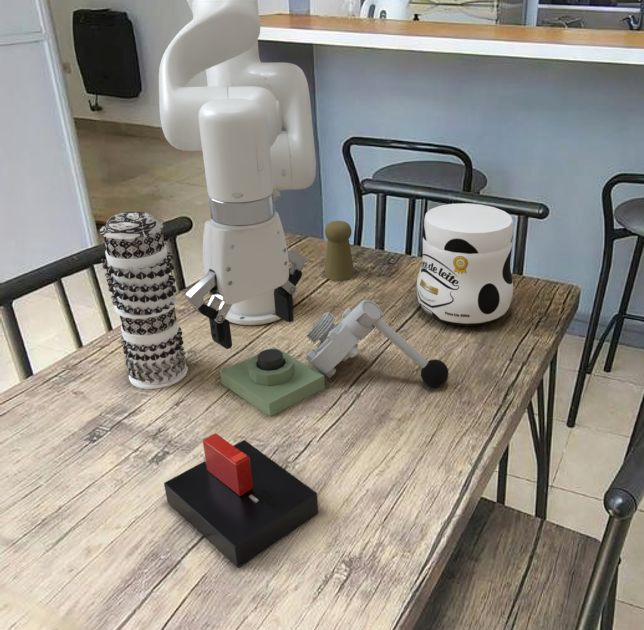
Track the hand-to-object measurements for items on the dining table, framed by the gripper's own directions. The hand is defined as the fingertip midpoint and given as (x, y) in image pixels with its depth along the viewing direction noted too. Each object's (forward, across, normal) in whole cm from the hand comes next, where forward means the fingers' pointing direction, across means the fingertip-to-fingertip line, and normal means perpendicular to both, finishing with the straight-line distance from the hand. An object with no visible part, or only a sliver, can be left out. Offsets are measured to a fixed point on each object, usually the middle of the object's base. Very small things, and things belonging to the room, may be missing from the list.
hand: (255, 331), depth 90 cm
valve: (+13, -18, +5) cm, 23 cm away
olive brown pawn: (+14, -38, -27) cm, 49 cm away
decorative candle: (+13, +5, -19) cm, 24 cm away
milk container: (+14, -44, +1) cm, 46 cm away
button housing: (+13, -5, -4) cm, 14 cm away
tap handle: (+9, +13, +12) cm, 20 cm away
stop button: (+9, -5, -4) cm, 11 cm away
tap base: (+12, +13, +14) cm, 23 cm away
